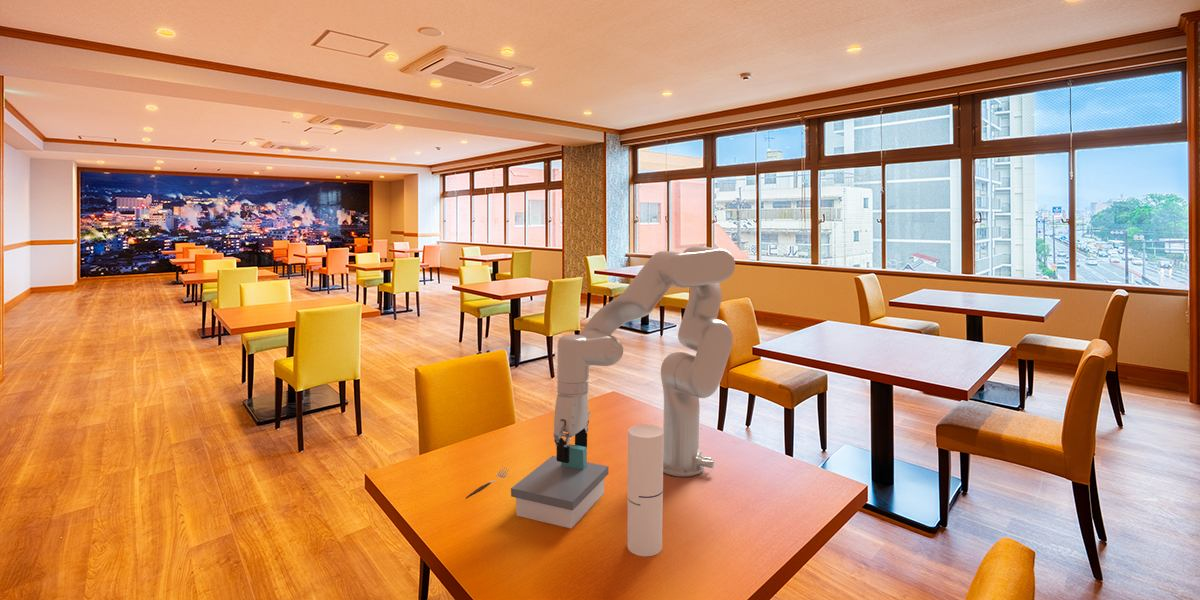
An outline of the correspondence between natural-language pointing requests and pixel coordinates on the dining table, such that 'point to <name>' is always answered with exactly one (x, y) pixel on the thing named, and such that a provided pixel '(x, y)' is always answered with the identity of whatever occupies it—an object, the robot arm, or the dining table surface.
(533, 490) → the lid
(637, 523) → the cylindrical container
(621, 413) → the dining table surface
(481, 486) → the fork
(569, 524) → the tub
